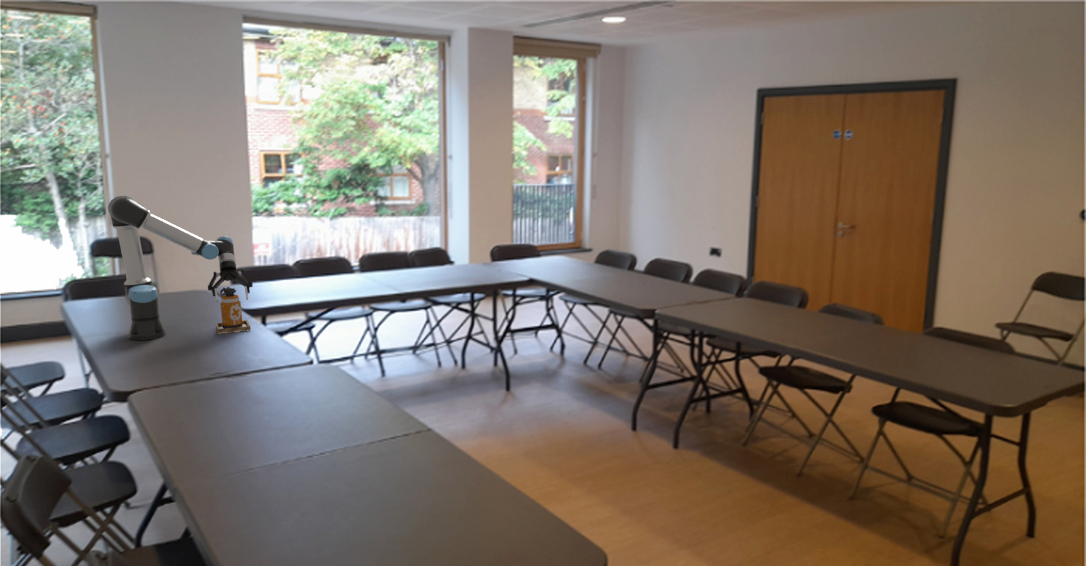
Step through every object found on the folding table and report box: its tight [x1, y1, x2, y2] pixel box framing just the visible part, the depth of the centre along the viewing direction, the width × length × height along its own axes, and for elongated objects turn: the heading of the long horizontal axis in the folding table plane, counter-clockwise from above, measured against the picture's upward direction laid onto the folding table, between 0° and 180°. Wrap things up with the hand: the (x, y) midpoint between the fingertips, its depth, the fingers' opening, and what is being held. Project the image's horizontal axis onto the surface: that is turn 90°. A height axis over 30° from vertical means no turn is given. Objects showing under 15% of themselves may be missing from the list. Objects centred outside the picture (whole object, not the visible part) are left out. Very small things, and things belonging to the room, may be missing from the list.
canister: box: [219, 286, 243, 328], centre depth 367 cm, size 9×11×20 cm
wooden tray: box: [215, 319, 251, 335], centre depth 369 cm, size 15×14×2 cm
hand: (232, 299), depth 367 cm, fingers open, 13 cm apart
